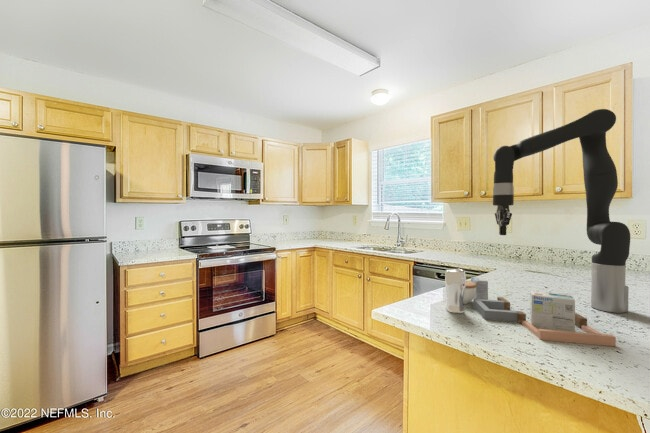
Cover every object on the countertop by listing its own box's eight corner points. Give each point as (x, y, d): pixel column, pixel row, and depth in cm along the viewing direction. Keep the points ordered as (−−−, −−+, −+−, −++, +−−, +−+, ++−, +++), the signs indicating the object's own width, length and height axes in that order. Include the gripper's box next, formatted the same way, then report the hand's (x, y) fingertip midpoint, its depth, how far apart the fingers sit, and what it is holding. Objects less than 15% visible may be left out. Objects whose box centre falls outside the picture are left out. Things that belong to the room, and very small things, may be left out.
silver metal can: (469, 314, 104) (469, 272, 103) (449, 313, 104) (449, 272, 103) (460, 307, 110) (460, 268, 110) (441, 307, 111) (442, 268, 110)
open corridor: (552, 308, 110) (552, 300, 110) (587, 328, 91) (587, 318, 91) (497, 304, 115) (497, 296, 115) (519, 322, 95) (519, 313, 95)
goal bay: (587, 329, 90) (587, 321, 90) (615, 346, 79) (615, 337, 79) (522, 324, 94) (522, 316, 94) (540, 339, 83) (540, 330, 83)
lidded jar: (448, 296, 126) (449, 274, 126) (476, 300, 121) (477, 277, 120) (445, 302, 117) (445, 279, 117) (475, 307, 111) (475, 282, 111)
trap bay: (502, 308, 110) (502, 300, 110) (517, 321, 96) (517, 312, 96) (473, 306, 112) (473, 298, 112) (484, 319, 98) (484, 310, 98)
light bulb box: (571, 328, 91) (571, 294, 91) (575, 336, 85) (576, 299, 85) (529, 322, 96) (529, 289, 96) (531, 328, 90) (531, 294, 90)
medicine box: (488, 302, 117) (488, 281, 117) (476, 301, 118) (476, 280, 118) (481, 297, 125) (481, 277, 125) (470, 296, 126) (470, 276, 126)
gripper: (519, 193, 116) (519, 236, 116) (507, 195, 129) (506, 234, 129) (498, 193, 117) (498, 236, 118) (488, 195, 130) (488, 233, 130)
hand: (502, 235), depth 123 cm, fingers closed
